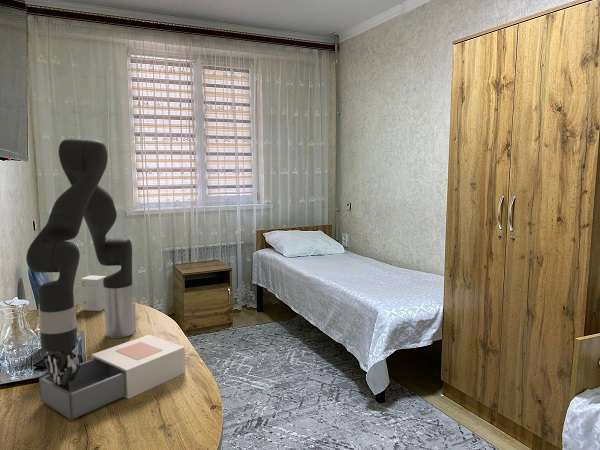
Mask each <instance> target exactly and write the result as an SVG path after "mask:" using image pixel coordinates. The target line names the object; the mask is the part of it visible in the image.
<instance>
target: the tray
mask: <svg viewBox="0 0 600 450" xmlns="http://www.w3.org/2000/svg"><path fill="white" fill-rule="evenodd" d="M78 364H79V365H80V369H79V371H78V373H77V375H76V377H75V379H74V381H71V382H69V392H68V391H66V390H65V389H63V388H61V387H59V386H57V385H56V383H55V382H54V378H52V379H51V378H50V375H49V374H47V375H45V376H40V377H39V378H38V383H39V394H40V396H39V397H40V398H39V399H40V402H41V403H43V404H45V405H46V406H48V407H50V408H51V409H53V410H54V411H56V412H57V413H59V414H60V415H62V416H63V417H64V418H67V419H68V420H70V421H73V420H74V419H76V418H78V417H81V416H84V415H85V414H88V413H90V412H93V411H94V410H97V409H99V408H102V407H103V406H107V405H108V404H110V403H112V402H114V401H117V400H119V399H121V398H124V397H123V396H126V395H127V393H126V372H125V371H122V370H120V369H118V368H116V367H114V366H111V365H109V364H107V363H105V362H103V361H100V360H98V359H96V358H95V359H92V358H91V359H90V360H87V361H84V362H81V363H78Z"/></svg>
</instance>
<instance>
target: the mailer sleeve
mask: <svg viewBox="0 0 600 450" xmlns="http://www.w3.org/2000/svg"><path fill="white" fill-rule="evenodd" d="M95 358H96V359H98V360H100V361H103V362H105V363H107V364H109V365H111V366H114V367H116V368H118V369H120V370H122V371H125V372H126V393H127V395H126V396H123V397H122V398H124V399H125V398H126V399H131V398H133V397H135V396H138V395H140V394H142V393H144V392H146V391H149V390H151V389H153V388H155V387H158V386H159V385H162V384H163V383H167V382H168V381H171V380H172V379H174V378H177V377H178V376H179V377H180V376H181V375H183V374H185V373H186V360H185V359H186V351H185V346H182V345H180V344H176V343H174V342H171V341H169V340H165V339H163V338H160V337H157V336H154V335H152V334H146V335H145V336H141V337H137V338H134V339H132V340H129V341H126V342H124V343H121V344H118V345H115V346H112V347H109V348H106V349H103V350H100V351H98V352H95V353H91V360H92V359H95Z"/></svg>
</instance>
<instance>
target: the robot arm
mask: <svg viewBox="0 0 600 450" xmlns="http://www.w3.org/2000/svg"><path fill="white" fill-rule="evenodd" d="M108 157H109V155H108V150H107V147H106V144H105V143H104V142H103V141H101V140H96V139H86V138H84V139H83V138H82V139H81V138H67V139H63V140H62V141H61V142H60V144H59V146H58V158H59V162H60V165H61V168H62V171H63V172H64V174H65V176H66V177H67V180H68V182H69V184H70V187H69V188H68V189H66V190H65V191H64V192H63V193H61V195H60V196H59V197H58V198H57V199H56V201H55V202H54V204H53V206H52V208H51V210H50V215H49V217H48V220H47V223H46V224H45V225H44V227H43V228H42V229H41V231H40V232H39V233H38V235H37V236H36V237H35V238H34V239H33V241H32V242H31V244H30V245H29V247H28V250H27V253H26V257H25V259H26V264H27V266H28V268H29V269H30V270H31V271H33V272H35V273H43V274H44V273H59V274H58V279H57V280H51V281H47V282H45V283H42V284H41V285H40V286H39V288H38V305H39V307H40V316H39V315H38V316H39V317H38V322H39V323H38V324H39V334H40V348H41V349H42V350H43V351H45V352H46V354H44V355H42V360H43V362H44V366H45V367H46V370H47V372H48V375H50V378H51V379H52V378H54V382H55V383H56V385H57V386H59V387H61V388H63V389H65V390H66V391H68V392H69V382H71V381H74V379H75V377H76V375H77V373H78V371H79V369H80V365H79V364H80V363H76V364H75V362H74V353H73V349H74V347H75V346H76V345H77V344H78V329H77V328H78V326H77V313H76V309H75V299H74V297H75V296H74V286H75V280H76V275H77V271H78V267H79V263H80V256H81V253H80V249H79V248H78V246H77V245H76V244H75V243H74V242H72V241H71V240H74V239H76V238H77V236H78V234H79V232H80V229H81V226H82V222H83V219H84V222H85V223H86V226H87V228H88V231H89V233H90V236H91V240H92V243H93V248H94V252H95V255H96V259H97V261H98V263H99V264H100V265H101V266H104V267H112V266H113V267H115V266H118V267H119V266H120V269H119V270H118V271H116V272H115V273H112V274H109V275H105V276H106V277H105V278H104V279H103V288H104V306H105V309H104V323H105V336H106V337H107V338H109V339H120V338H121V339H122V338H128V337H129V336H131V335H133V334H134V333H135V331H136V329H137V327H136V326H137V325H136V322H137V321H136V305H135V303H134V291H133V290H134V289H133V288H134V287H133V243H132V241H131V240H130V239H129V238H128V237H127V238H125V237H115V238H113V237H112V238H111V237H110V238H108V237H106V236H107V234H108V233H109V231H110V230H111V229H112V228H113V226H114V224H115V222H116V220H117V217H118V213H117V209H116V205H115V202H114V200H113V198H112V196H111V194H110V193H109V192H107V190H106V189H105V188H103V187H102V186H101V185H100V184H99V183H100V181H101V180H102V178H103V175H104V173H105V171H106V168H107V165H108V164H107V163H108ZM47 352H48V354H47Z"/></svg>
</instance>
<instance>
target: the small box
mask: <svg viewBox="0 0 600 450" xmlns="http://www.w3.org/2000/svg"><path fill="white" fill-rule="evenodd" d="M106 276H107V275H92V274H91V275H87V276H85V277H81V278H80V296H81V309H82V311H90V312H91V311H92V312H101V311H103V310H105V306H104V288H103V279H104V278H105V277H106Z"/></svg>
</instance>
